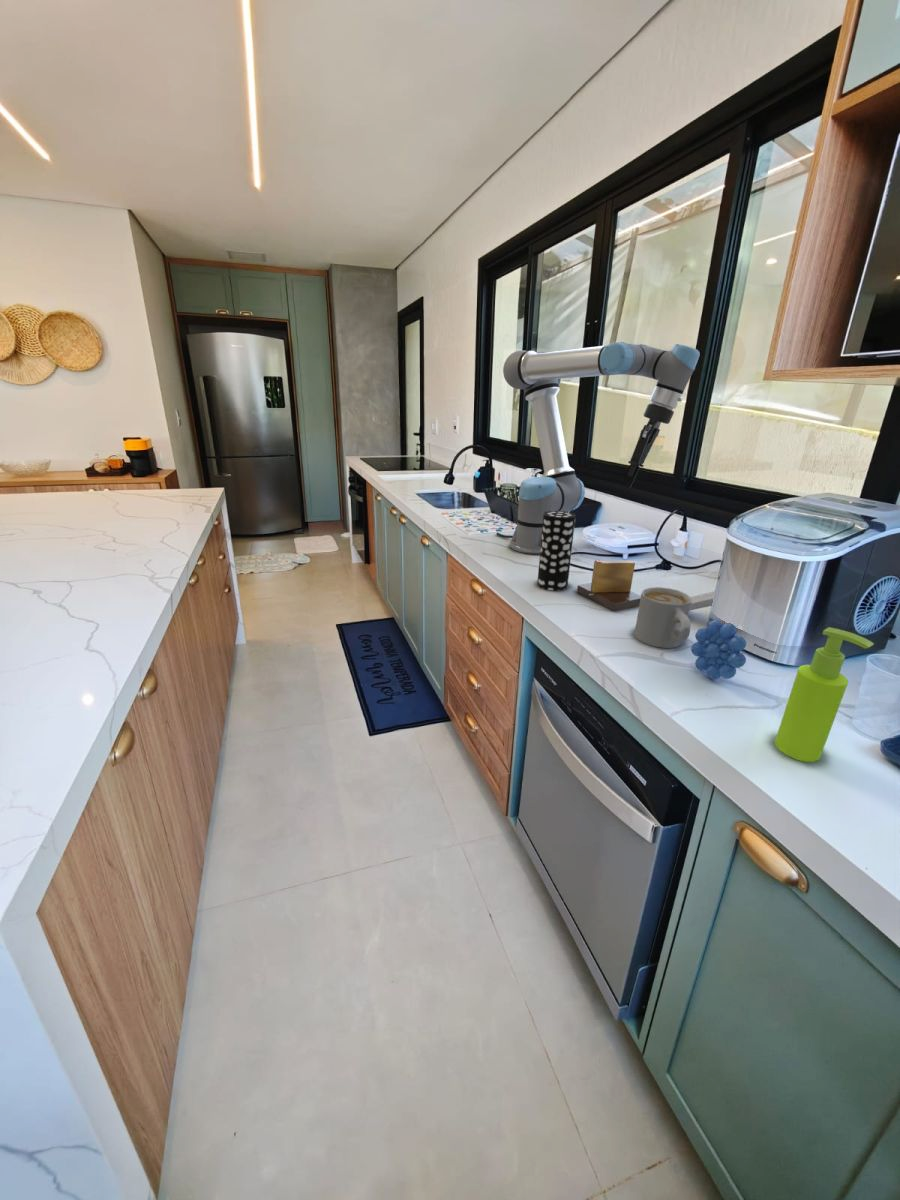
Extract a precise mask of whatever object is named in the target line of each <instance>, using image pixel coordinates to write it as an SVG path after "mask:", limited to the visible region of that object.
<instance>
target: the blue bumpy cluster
mask: <svg viewBox="0 0 900 1200" xmlns="http://www.w3.org/2000/svg"><path fill="white" fill-rule="evenodd" d="M737 632H738V627H737V626H734V625H733V624H731V623H726V624H725V623H724V624H722V622H721V621H719V620H718V619H717V620H716V619H715V620H711V621H709V622H708V623H707V625H706V627H701V628H699V629H697V631H696V632H695V634H694V637H695V640H696V641H695V642H694V643H693V644H692V646H691V647H690V652H691V653H692V655H693V656H695V657H697V658H696V659H695V661H694V666H695V668H697V670H699V671H702V672H703V671H705V675H706V677H707V678H708V679H710V680H719V679H720V678H723V679H725V680H730V679H733V678H734V677H735V676H736V675H737V669H740V668H741V667H744V665H745V664H746V662H747V658H746V655H744V653H742V651H744V650H745V648H746V647H747V640H746V639H745V637H743V636H741V635H737Z"/></svg>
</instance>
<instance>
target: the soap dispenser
mask: <svg viewBox="0 0 900 1200" xmlns="http://www.w3.org/2000/svg"><path fill="white" fill-rule="evenodd" d="M822 635H824V636H827V639H826V641H825V645H824V646H823V647H817V648H816V649H815V651H814V653H813V657H812V661H811V663H810V664H803V665H800V666H799V667H798V669H797V671H796V675H795V678H794V681H793V684H792V687H791V690H790V693H789V697H788V700H787V703H786V706H785V709H784V712H783V715H782V717H781V721H780V725H779V727H778V731H777V733H776V736H775V740H774V745H775V747H776V748H777V749H778V750H779V751H780V752H781V753H782V754H784V755H786V756H787V757H789V758H791V759H794V760H797V761H800V762H806V763H814V762H818V761H819V760H820V759H821V757H822V754H823V751H824V749H825V746H826V742H827V741H828V738H829V736H830V732H831V729H832V728H833V725H834V721H835V720H836V716H837V714H838V711H839V708H840V706H841V703H842V700H843V698H844V695H845V692H846V690H847V687H848V684H849V680H848V678H847V677H846V676H845V675H844V674H842V673H841V670H842V668H843V665H844V661H845V659H846V655H845V654H844V653H843V652H842V651H840V650H841V648H842V644H843V641H846V642H848V643H852V644H854V645H857V646H858V647H860V648H862V649H864V650H865V649H869V648H871V647H872V646H874V645H875V643H874V642H872V641H871V640H869V639H868V638H865V637H863V636H861V635H859V634H856V633H853V632H850V631H846V630H843V629H839V628H834V627H830V626H829V627H827V628H825V629H823V631H822Z"/></svg>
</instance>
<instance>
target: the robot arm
mask: <svg viewBox="0 0 900 1200" xmlns="http://www.w3.org/2000/svg"><path fill="white" fill-rule="evenodd" d="M699 358H700V351H699V350H698V349H697V348H694V347H691V346H689V345H685V344H679V343H676V344H674V345H673V346H672V348H671V349H670V350H665V349H661V348H658V347H657V348H656V347H654V346H650V345H647V344H642V343H640V344H639V343H633V344H632V343H627V342H625V341H618V342H617V341H616V342H611V343H609V344H608V345H598V346H590V347H581V348H575V349H574V348H573V349H565V350H557V351H549V352H547V351H535V350H515V351H514V352H512V353H510V354H509V355H508V356H507V358H506V359H505V361H504V363H503V368H502V373H503V377H504V380H505V382H506V383H507V384H508V385H509V386H510V387H511V388H514V389H516V390H523V392H524V396H525V397H524V398H525V401H528V402H529V403H530V404H531V409H532V410H531V411H532V415H533V420H534V425H535V431H536V436H537V441H538V446H539V447H538V448H539V452H540V457H541V461H542V462H541V463H542V467H543V474H542V476H533V477H528V478H526V479H524V480H522V481H521V483H520V485H519V491H518V507H517V524H516V527H515V530H514V532H513V534H512V535H511V534H510V535H507V534H502V533H500V532H496V535H495V536H499V537H500V538H505V539H511V540H510V545H509V546H510V548H511V550H513V551H515V552H519V553H523V554H530V555H540V548H541V537H542V526H543V515H544V512H547V511H565V512H570V513H571V512H572V511H574V510H576V509H578V508H579V507H580V506H581V504H582V503H583V501H584V499H585V494H586V489H585V485H584V482H583V481H582V480H580V478H578V477H577V475H576V470H575V469H574V468H572V467H571V466H570V464H569V459H568V452H567V448H566V442H565V436H564V431H563V426H562V419H561V416H560V410H559V409H560V408H559V403H558V399H557V395H558V394H559V392H560V391H561V390H560V384H561V383H562V380H563V379H575V378H587V377H588V378H589V377H600V376H614V375H615V376H616V375H617V376H618V375H623V376H625V375H626V376H637V377H638V376H641V377H645V378H648V379H652V380H655V381H657V382H656V385H655V387H654V389H653V391H652V393H651V395H650V398H649V401H650V403H648V404H647V405H646V408H645V410H644V412H643V417H644V418H646V419H648V421H647V423H646V424H644V425H643V428H642V429H641V431H640V434H639V436H638V439H637V442H636V445H635V447H634V450H633V452H632V455H631V458H630V459H629V460H628V462H627V464H629V467H628V469H627V471H626V473H625V475H624V477H623V480H622V482H621V484H620V485H621V486H622V487H625V488H628V489H631V488H632V486H633V484H634V482H635V480H636V478H637V475H638V474H639V471H640V469H641V468H644V466H645V465H644V463H645V461H646V459H647V457H648V455H649V453H650V451H651V449H652V447H653V445H654V443H655V441H656V439H657V438H658V436H659V434H660V431H661V429H660V427H661V424H665V425H668V424H670V423H671V420H672V418H673V417H674V414H675V411H674V409H676V408H677V407H678V405H679V403H681V402H682V401H683V398H682V396H683V394H684V392H685V390H686V387H687V385H688V384H689V381H690V379H691V377H692V375H693V373H694V371H696V366H697V364H698V360H699Z"/></svg>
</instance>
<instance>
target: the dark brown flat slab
mask: <svg viewBox="0 0 900 1200" xmlns="http://www.w3.org/2000/svg"><path fill="white" fill-rule="evenodd" d="M591 583H592V581H591V582H588V583H582V584H578V585H577V588H576V593H578V594H580V595H582V596H584V597H586V598H588V599H589V600H591V601H594V602H596V603H597V604H599V605H601V606H603V607H605V608H606V609H609V610H611V611H612V612H615V611H616V612H617V611H620V610H626V609H630V608H634V607H639V605H640V599H641V594H638V593H636V592H633V591H632V590H631V591H630V592H592V591H591Z"/></svg>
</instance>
